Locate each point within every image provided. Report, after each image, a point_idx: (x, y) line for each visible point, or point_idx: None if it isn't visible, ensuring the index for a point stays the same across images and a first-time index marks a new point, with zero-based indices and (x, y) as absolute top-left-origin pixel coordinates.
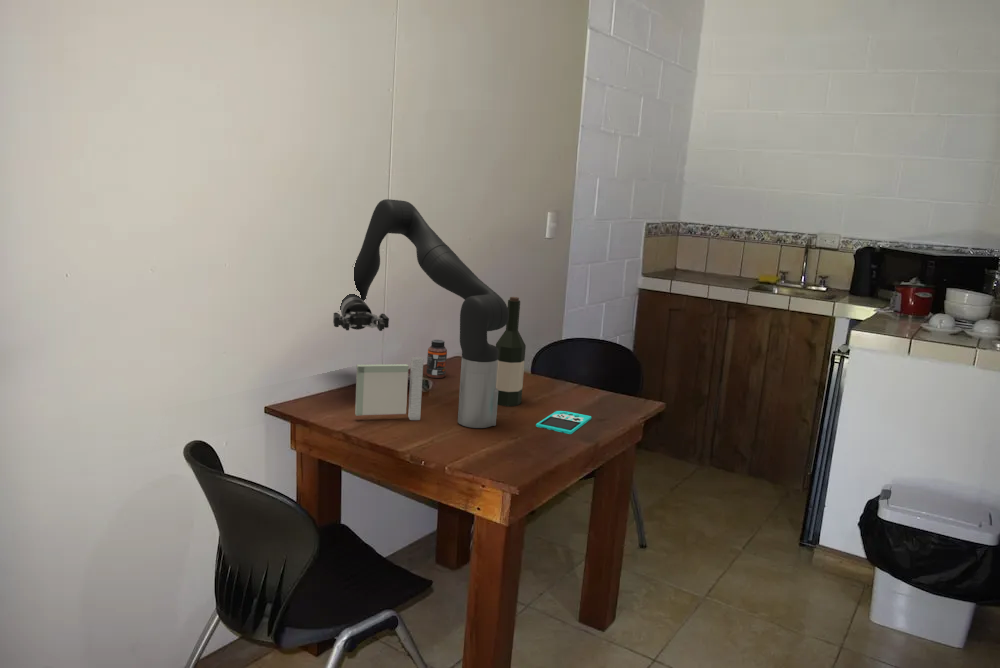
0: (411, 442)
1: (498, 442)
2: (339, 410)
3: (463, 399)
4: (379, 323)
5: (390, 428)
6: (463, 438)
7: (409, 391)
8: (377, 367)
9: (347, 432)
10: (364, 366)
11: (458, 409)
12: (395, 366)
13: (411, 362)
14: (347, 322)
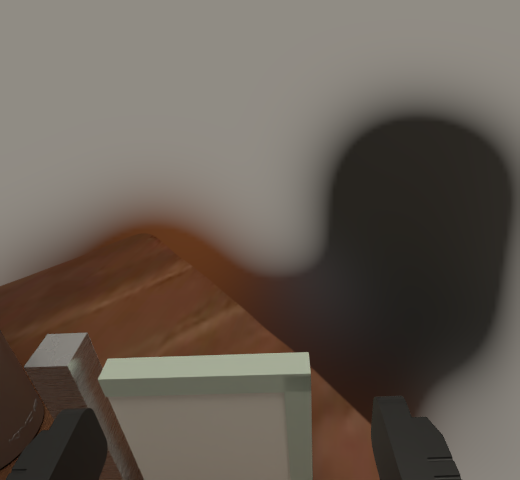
0: (208, 334)
1: (53, 327)
2: None
3: (16, 366)
4: (78, 437)
5: None
6: (100, 346)
7: (112, 457)
8: (230, 358)
9: (334, 392)
10: (281, 353)
11: (17, 418)
12: (159, 357)
13: (80, 370)
14: (395, 397)
